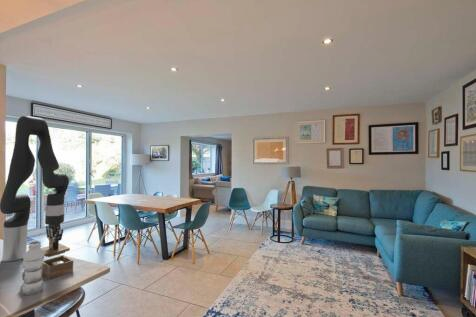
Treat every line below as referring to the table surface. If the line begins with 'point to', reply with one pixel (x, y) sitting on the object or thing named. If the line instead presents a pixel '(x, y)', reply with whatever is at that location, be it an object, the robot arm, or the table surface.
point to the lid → (52, 252)
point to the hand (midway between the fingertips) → (53, 247)
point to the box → (57, 267)
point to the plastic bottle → (33, 269)
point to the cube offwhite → (57, 263)
